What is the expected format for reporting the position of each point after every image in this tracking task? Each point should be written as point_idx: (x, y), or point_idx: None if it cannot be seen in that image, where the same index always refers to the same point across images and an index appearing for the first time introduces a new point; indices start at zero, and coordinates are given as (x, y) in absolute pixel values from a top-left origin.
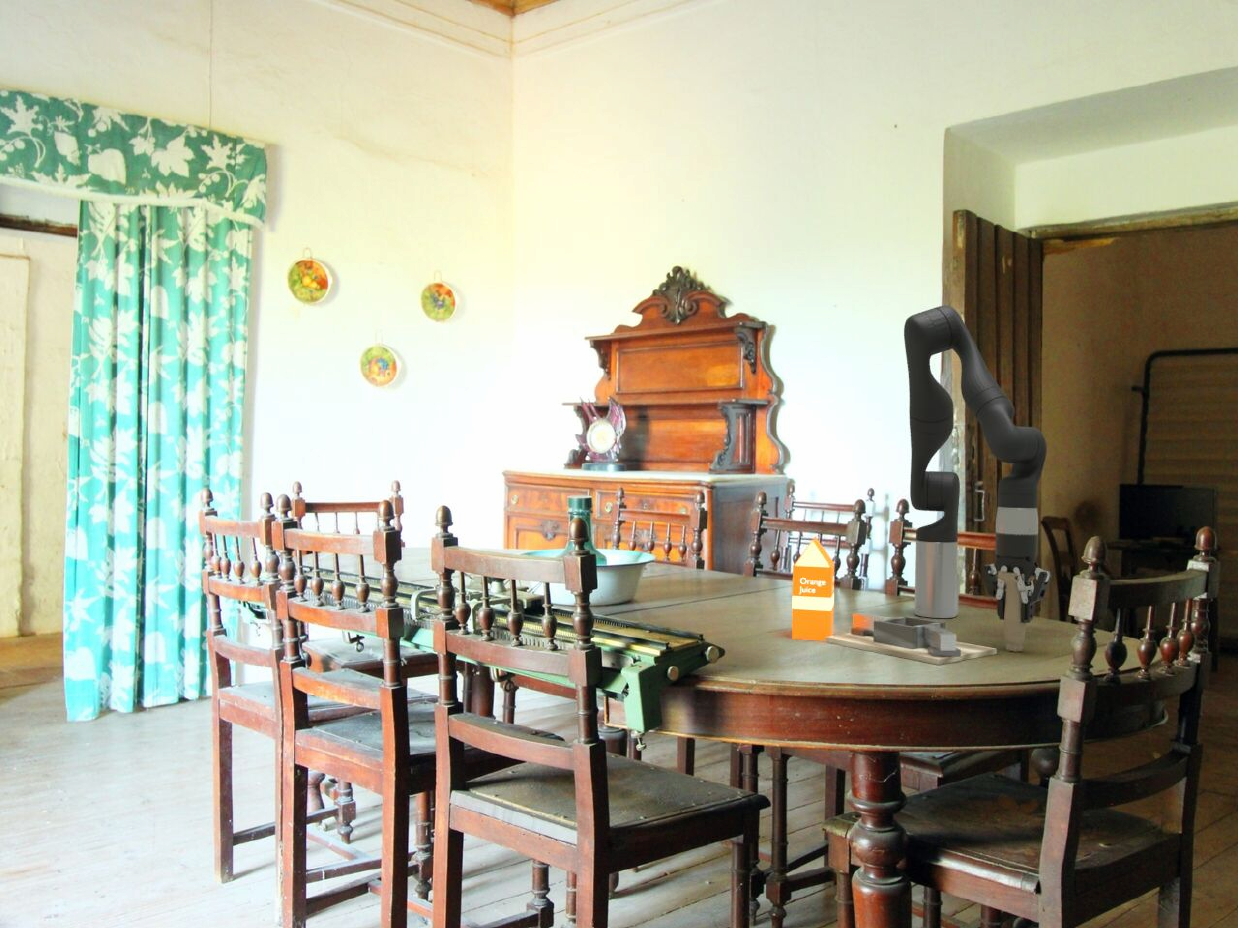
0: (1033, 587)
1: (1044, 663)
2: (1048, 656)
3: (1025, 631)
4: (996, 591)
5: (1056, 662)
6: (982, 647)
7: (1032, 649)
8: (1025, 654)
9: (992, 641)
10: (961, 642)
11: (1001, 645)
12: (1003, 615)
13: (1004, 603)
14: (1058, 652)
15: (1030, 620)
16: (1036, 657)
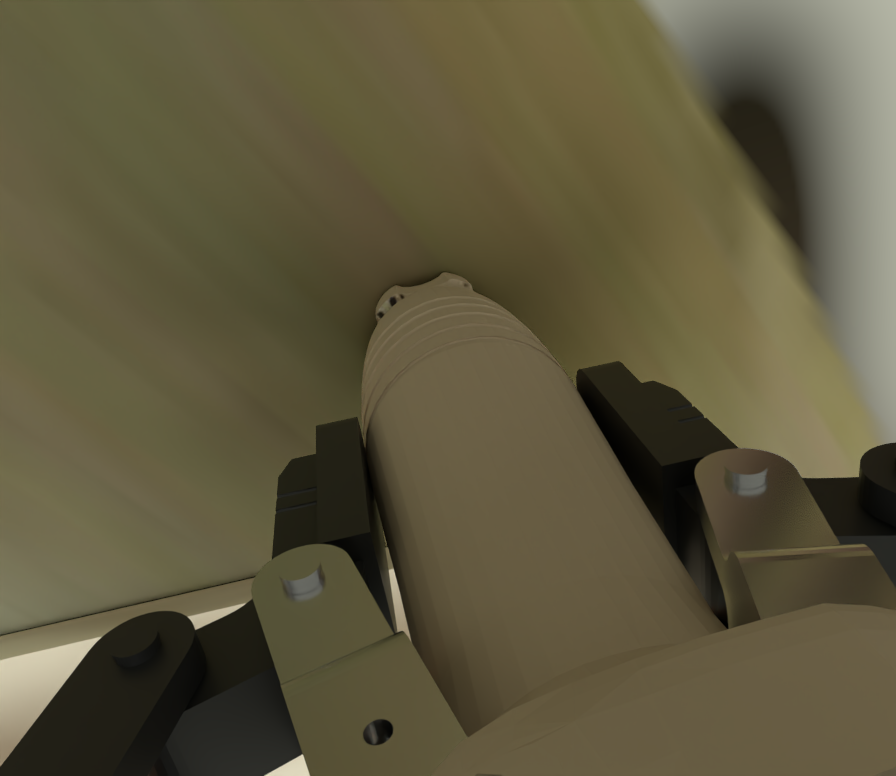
0: (869, 562)
1: (793, 463)
2: (690, 265)
3: (519, 321)
4: (270, 765)
5: (822, 375)
6: (402, 604)
7: (457, 150)
8: (564, 363)
9: (25, 184)
10: (199, 619)
11: (221, 260)
12: (380, 525)
13: (391, 602)
14: (642, 44)
15: (618, 366)
16: (665, 371)
